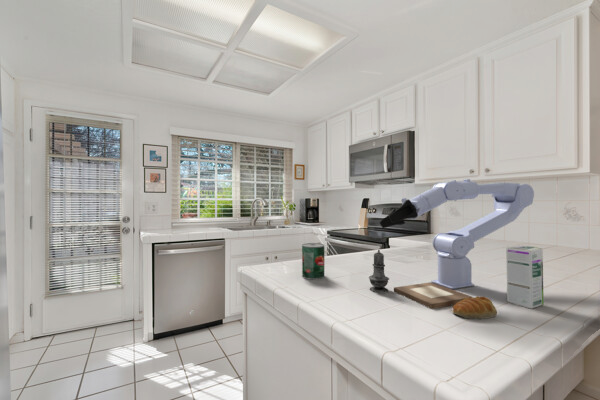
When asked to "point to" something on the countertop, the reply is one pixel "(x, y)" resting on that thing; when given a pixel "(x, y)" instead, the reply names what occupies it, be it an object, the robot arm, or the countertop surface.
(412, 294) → the walnut board
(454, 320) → the countertop surface
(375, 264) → the salt shaker
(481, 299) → the pastry
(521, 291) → the syrup box
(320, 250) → the canned tomato
